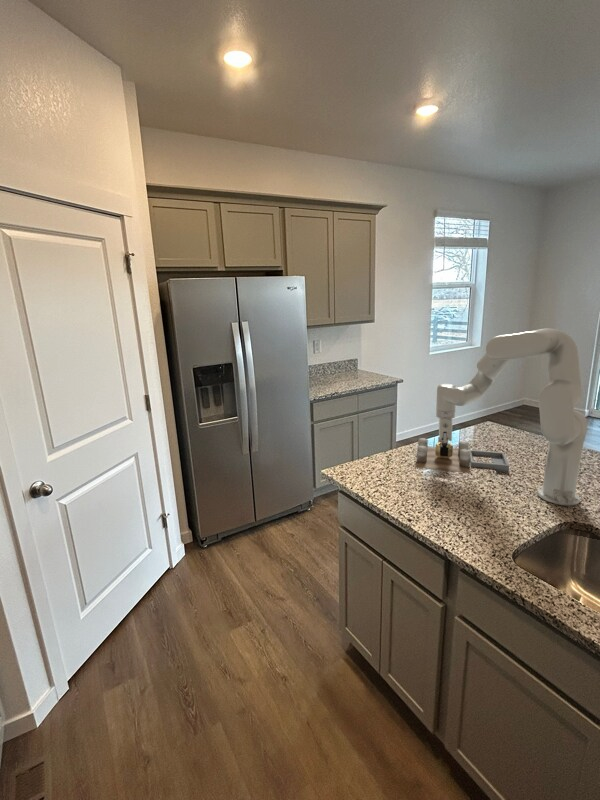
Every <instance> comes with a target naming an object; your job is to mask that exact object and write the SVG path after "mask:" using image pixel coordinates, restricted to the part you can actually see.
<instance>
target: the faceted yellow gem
mask: <svg viewBox="0 0 600 800" xmlns="http://www.w3.org/2000/svg"><path fill="white" fill-rule="evenodd" d="M442 443H443V442H442ZM446 443H447V442H446ZM435 447H436V452H435V455H437V456H438V457H439V458H450V457H451V456H452V453H453V448H454V445H453V444H452V443H450V442H448V456H440V447H441V442H439V443H438V442H437V443H435Z"/></svg>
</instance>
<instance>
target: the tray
mask: <svg viewBox="0 0 600 800" xmlns="http://www.w3.org/2000/svg"><path fill="white" fill-rule="evenodd" d="M468 450H469V451H470V467H474V468H485V469H486V468H487V469H493V470H495V471H496V472H498V473H499V472H500V473H509V472H510V465H509V462H508V459H507V457H506V455H505V453H504V452H499V451H498V452H497V451H487V450H486V451H484V450H477V449H476V450H475V449H474V450H473V449H468ZM473 456H481V457H482V456H484V457H490V459H491V462H480V461H474V460H473Z"/></svg>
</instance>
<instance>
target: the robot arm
mask: <svg viewBox="0 0 600 800" xmlns="http://www.w3.org/2000/svg"><path fill="white" fill-rule="evenodd" d="M543 355H547V357H548V366H547V372H548V379H549V380H548V383H547V384H546V385H545V386H544V387H543V388H542V389H541V390H540V392H539V396H538V407H539V408H538V409H539V419H540V420H539V421H540V430H541V433H542V436H543V437H544V439H545V440H546V441H548V446H547V447H548V448H547V453H546V459H545V461H546V462H545V468H544V475H543V484H542V486H540V487H538V488H537V491H536V494H537V496H538V497H540V499H542V500H544V501H546V502H549V503H550V504H555V505H558V506H569V507H571V506H576V505H579V503H580V501H581V496H579V494H577V493H576V492H577V491H576V490H577V485H578V476H579V472H580V471H579V470H580V465H581V460H582V453H583V447H584V444H585V439H586V436H587V432H588V421H587V418H586V416H585V415H584V414H583V413H582V412H580V411H578V410H576V409H574V408H575V405H576V404H577V403H579V402H580V401H581V399H582V396H583V391H582V390H583V389H582V380H581V379H582V378H581V370H580V363H579V362H580V361H579V351H578V347H577V343H576V342H575V340H574V338H573V337H572V336H570V335H569V334H568V333H567V332H564V331H563V330H560V329H556V328H547V327H546V328H540V329H535V330H531V331H524V332H518V333H511V334H510V333H507V334H501V335H497V336H493V337H492V338H490V339H489V341H488V342H487V343H486V345H485V354H483V356H482V357H481V358H480V360H478V362H477V363H476V368H477V370H478V371H477V372H476V374H475V375H474V377H473V378H472V379H471V380H470V381H469V382H468V383H467V384H465V385H461V386H458V387H456V385H455V384H452V383H441V384H439V385H438V386H437V388H436V410H435V412H436V413H435V414H436V415H435V417H437V418H438V437H439V438H440V442H441V447H440V456H448V443H449V442H452V440H453V419H455V417H456V406H457V407H463V406H466V405H468V404H469V405H470V404H471V403H474V402H477V401H478V400H479V399H480V398H482V397H483V395H485V393H486V392H487V391H488V390H489V389H490V388H491V386H492V385H493V384H494V382H495V381H496V379H497V377H498V375H500V373H501V372H502V371H503V370H504V369H505V368H506V367H507V366H508V365H509V364H510V363H511V362H512V360H517V359H527V358H535V357H540V356H543ZM442 442H443V443H442ZM446 442H447V443H446Z"/></svg>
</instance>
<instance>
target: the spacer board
mask: <svg viewBox="0 0 600 800" xmlns="http://www.w3.org/2000/svg"><path fill="white" fill-rule="evenodd" d="M437 441H438V442H437V443H439V442H440V438H439V436H438V439H437ZM417 443H418V446H417V448H416V449H417V452H416V453H417V454H416V461H417V469H427V470H437V471H445V472H453V473H456V472H457V473H463V474H464V473H466V474H470V473H471V472H470V468H469V467H470V466H471V464H470V451H469V450H470V449H469V448H470V446H469V445H470V443H469V442H468V441H465V440H464V441H463V440H461V441H459V442H458V448H454V447H453V453H452V456H451V457H450V458H439V457H438V456H437V455H435V452H436V446H429V445H428V444H429V439H427V438H424V437H423V438H421V437H420V438H418V442H417Z"/></svg>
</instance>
